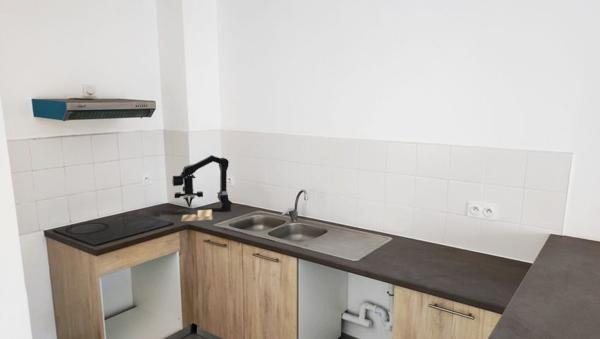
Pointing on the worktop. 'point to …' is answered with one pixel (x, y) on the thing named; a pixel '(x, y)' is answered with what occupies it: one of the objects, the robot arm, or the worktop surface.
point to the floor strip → (197, 218)
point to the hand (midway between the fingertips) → (189, 206)
